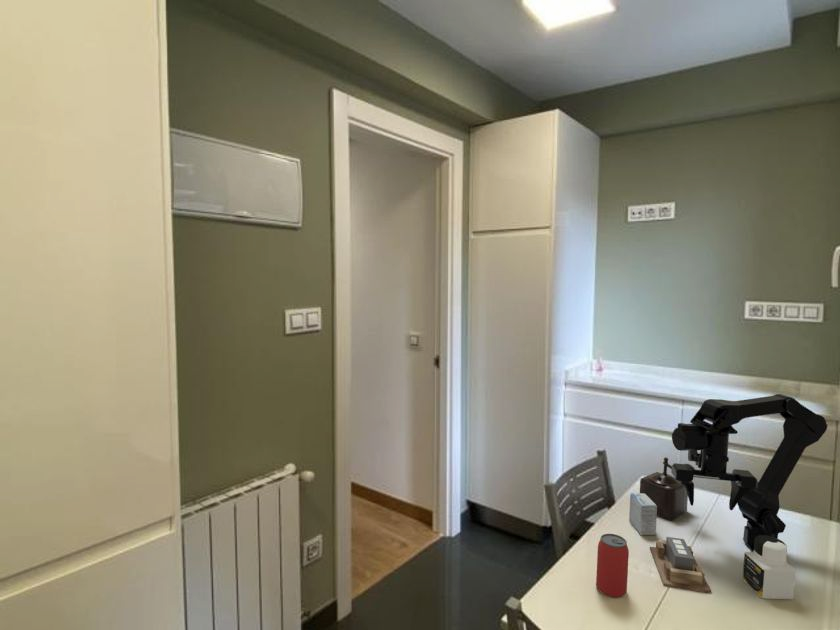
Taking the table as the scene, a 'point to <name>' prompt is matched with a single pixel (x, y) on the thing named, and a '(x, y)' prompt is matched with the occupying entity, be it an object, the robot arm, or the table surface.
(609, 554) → the beer can
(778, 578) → the medicine bottle
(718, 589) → the table surface
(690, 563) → the power strip
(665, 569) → the cradle board
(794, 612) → the table surface
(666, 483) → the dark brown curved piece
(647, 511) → the medicine box
